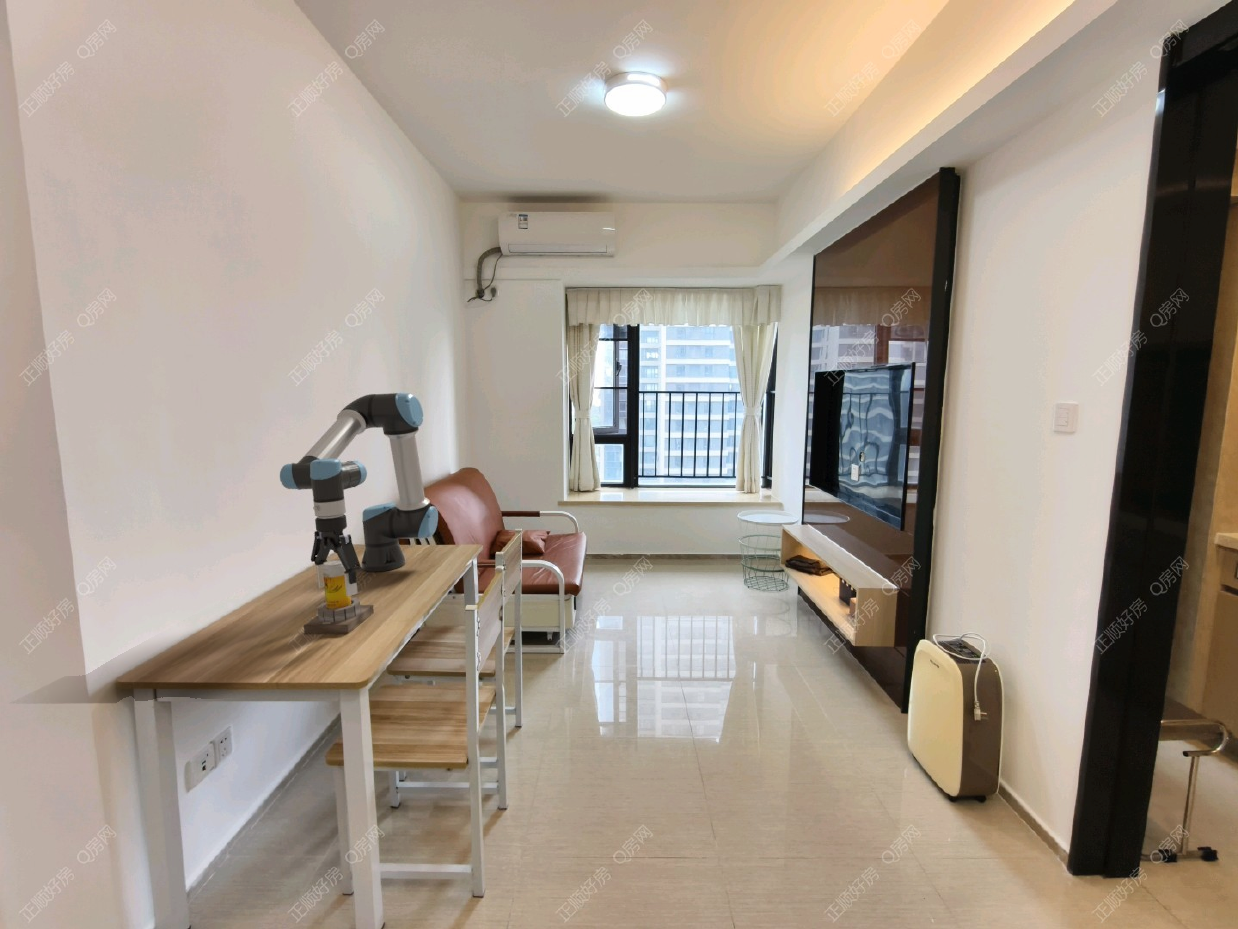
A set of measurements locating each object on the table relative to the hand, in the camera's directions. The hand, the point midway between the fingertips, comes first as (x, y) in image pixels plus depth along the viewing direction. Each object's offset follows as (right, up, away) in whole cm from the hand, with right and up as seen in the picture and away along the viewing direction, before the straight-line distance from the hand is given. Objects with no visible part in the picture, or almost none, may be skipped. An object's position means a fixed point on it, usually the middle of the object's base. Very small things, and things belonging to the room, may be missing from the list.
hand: (337, 590), depth 153 cm
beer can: (0, -7, +1) cm, 7 cm away
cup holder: (0, -9, +1) cm, 9 cm away
